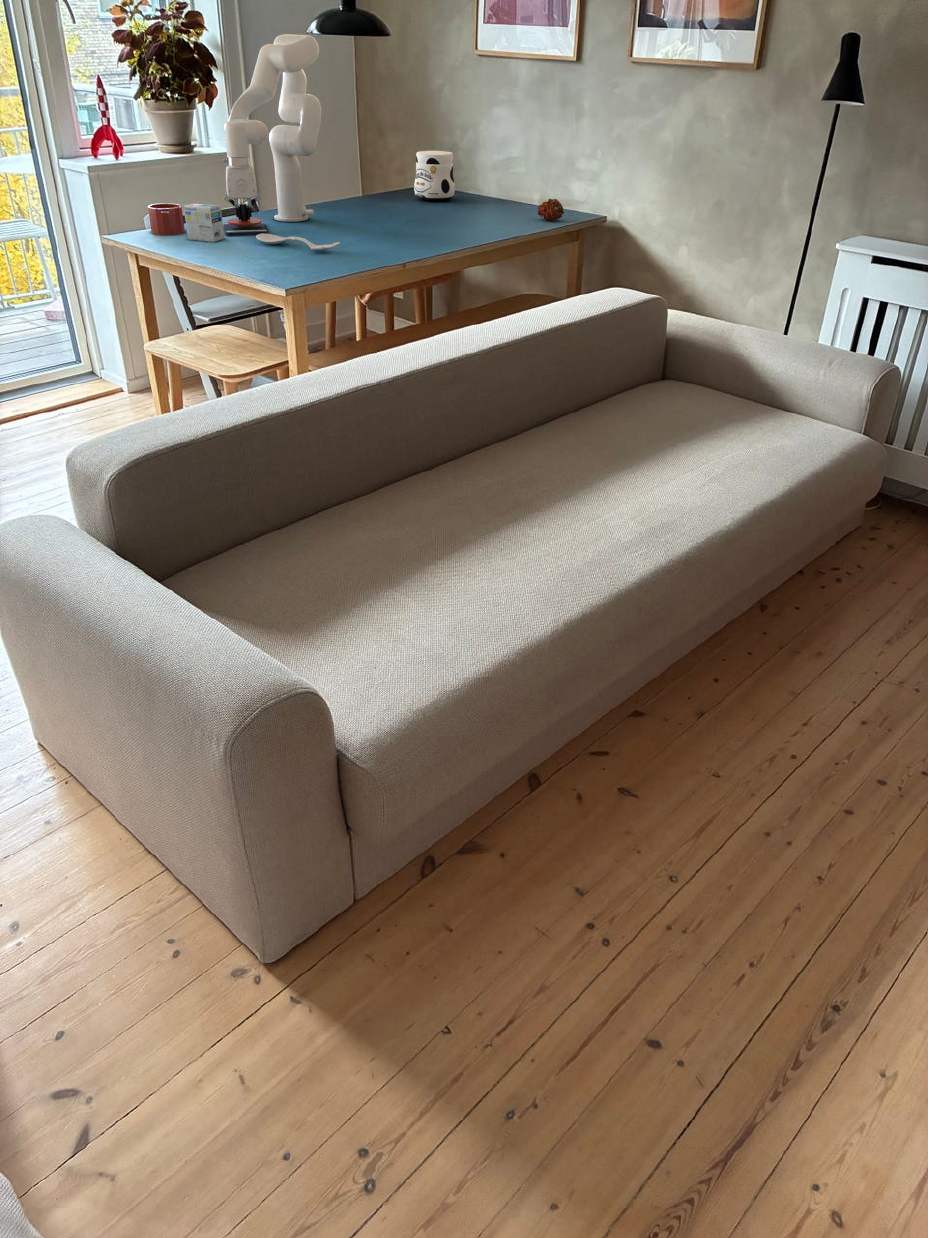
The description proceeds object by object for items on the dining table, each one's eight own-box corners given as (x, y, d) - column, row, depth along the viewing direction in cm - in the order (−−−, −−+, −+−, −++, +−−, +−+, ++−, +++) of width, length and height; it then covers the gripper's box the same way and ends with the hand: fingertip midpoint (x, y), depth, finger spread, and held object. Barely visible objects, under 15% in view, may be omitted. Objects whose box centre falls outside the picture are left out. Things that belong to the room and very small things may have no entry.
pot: (184, 227, 339) (181, 201, 335) (185, 236, 326) (181, 209, 321) (152, 228, 337) (148, 202, 332) (151, 237, 323) (147, 210, 319)
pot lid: (260, 220, 342) (259, 200, 339) (263, 226, 332) (261, 206, 329) (226, 221, 339) (224, 201, 336) (228, 227, 329) (226, 206, 326)
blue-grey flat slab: (263, 224, 347) (263, 221, 346) (267, 234, 330) (267, 231, 330) (224, 225, 344) (223, 222, 343) (226, 235, 327) (226, 232, 327)
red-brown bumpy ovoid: (561, 227, 361) (538, 227, 369) (572, 211, 363) (549, 212, 371) (551, 209, 355) (528, 210, 363) (563, 193, 357) (540, 194, 365)
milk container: (410, 201, 396) (409, 154, 387) (418, 195, 411) (418, 149, 401) (450, 203, 394) (451, 155, 384) (458, 197, 408) (458, 151, 399)
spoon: (323, 256, 302) (322, 245, 300) (251, 243, 317) (250, 232, 315) (341, 252, 308) (341, 240, 306) (270, 239, 323) (269, 228, 321)
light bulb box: (225, 238, 323) (221, 204, 317) (214, 242, 318) (210, 207, 312) (198, 236, 326) (193, 202, 320) (187, 239, 320) (182, 205, 315)
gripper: (215, 163, 320) (221, 221, 330) (263, 163, 324) (268, 220, 334) (214, 160, 327) (220, 217, 336) (262, 160, 330) (266, 217, 340)
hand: (244, 218), depth 335 cm, fingers closed on pot lid, 2 cm apart
